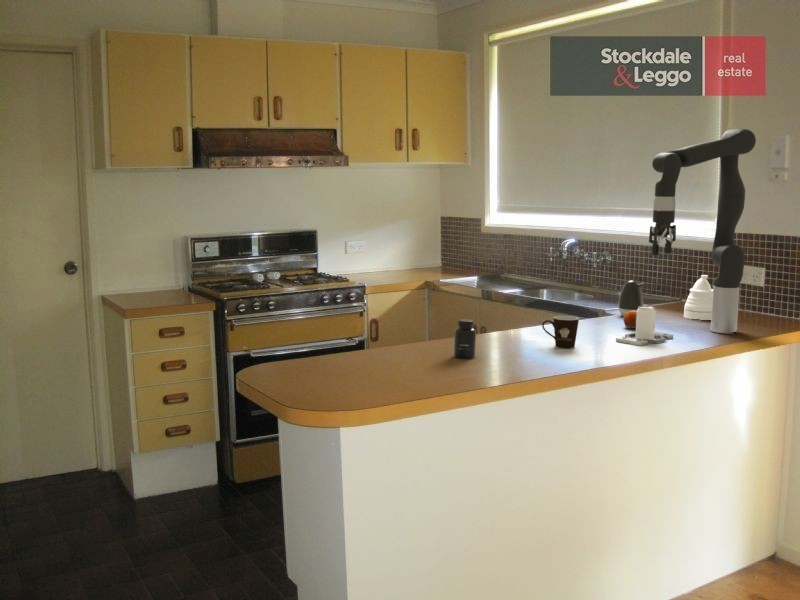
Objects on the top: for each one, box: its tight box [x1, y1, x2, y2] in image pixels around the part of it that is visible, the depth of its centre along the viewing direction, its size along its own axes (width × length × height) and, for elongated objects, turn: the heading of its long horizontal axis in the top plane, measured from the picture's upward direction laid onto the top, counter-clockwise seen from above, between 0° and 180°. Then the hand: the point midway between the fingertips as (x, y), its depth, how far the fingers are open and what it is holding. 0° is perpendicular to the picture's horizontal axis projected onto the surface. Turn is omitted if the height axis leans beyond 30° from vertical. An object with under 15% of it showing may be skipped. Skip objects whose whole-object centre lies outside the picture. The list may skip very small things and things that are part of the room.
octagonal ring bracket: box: [615, 331, 674, 347], centre depth 302 cm, size 22×13×1 cm, turn 133°
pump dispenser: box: [617, 279, 646, 317], centre depth 350 cm, size 10×10×15 cm
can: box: [634, 305, 656, 340], centre depth 301 cm, size 6×6×12 cm
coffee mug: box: [541, 315, 580, 350], centre depth 289 cm, size 12×9×10 cm
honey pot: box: [683, 274, 713, 321], centre depth 348 cm, size 13×13×18 cm
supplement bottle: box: [453, 318, 477, 360], centre depth 271 cm, size 7×7×12 cm
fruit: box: [623, 310, 637, 329], centre depth 324 cm, size 8×8×8 cm
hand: (661, 254), depth 305 cm, fingers open, 8 cm apart
